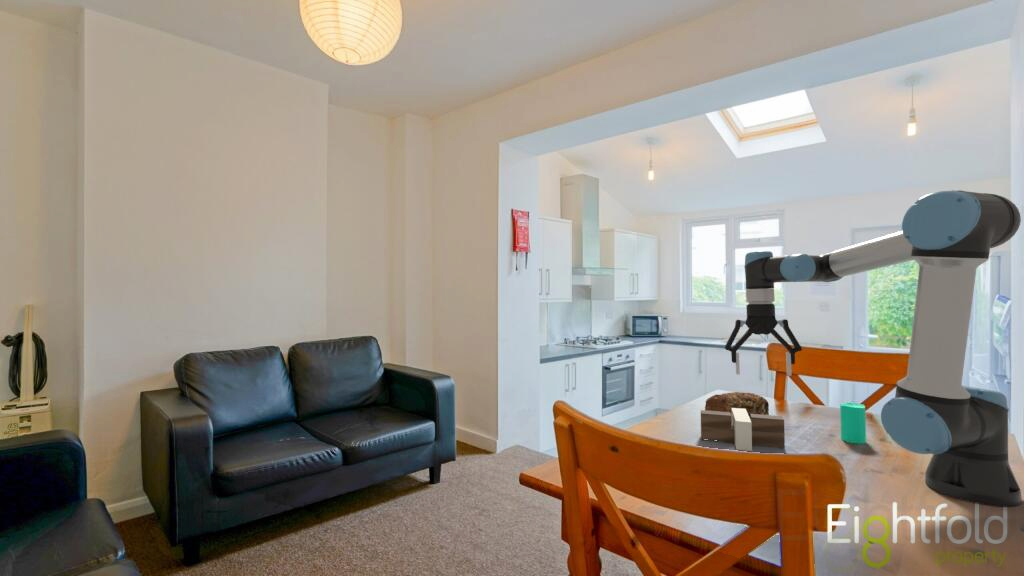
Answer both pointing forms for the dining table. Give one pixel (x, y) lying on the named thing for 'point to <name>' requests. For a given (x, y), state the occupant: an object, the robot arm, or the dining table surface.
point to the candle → (853, 423)
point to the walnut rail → (763, 428)
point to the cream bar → (742, 429)
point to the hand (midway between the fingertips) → (763, 374)
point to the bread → (738, 403)
